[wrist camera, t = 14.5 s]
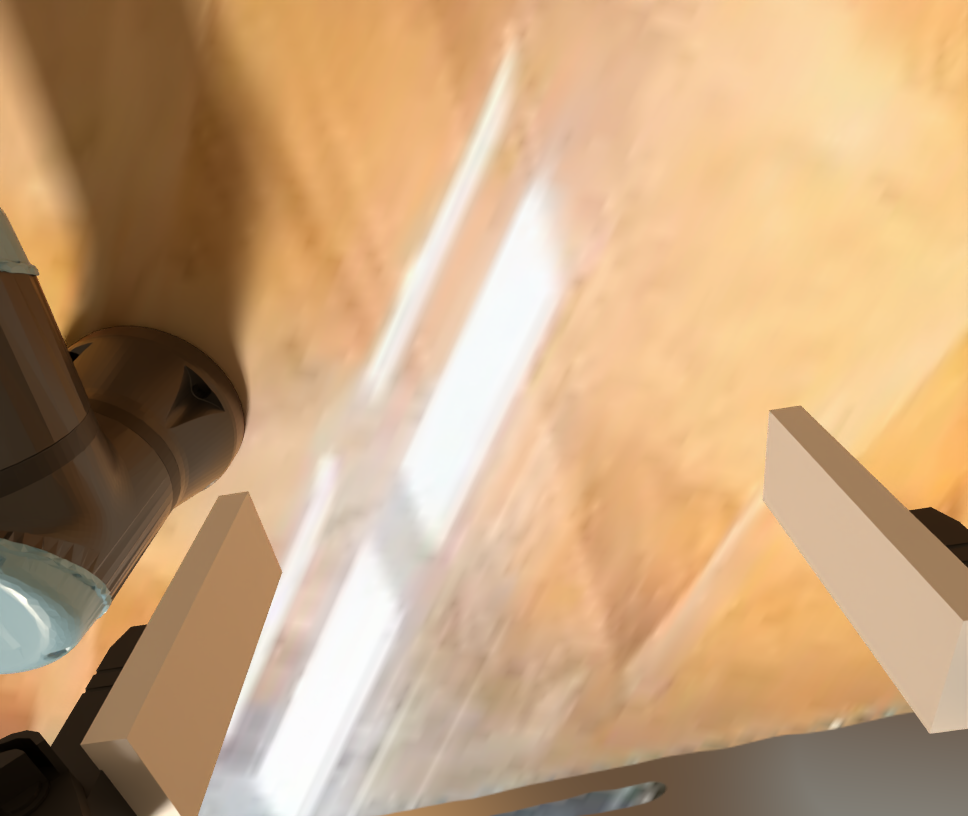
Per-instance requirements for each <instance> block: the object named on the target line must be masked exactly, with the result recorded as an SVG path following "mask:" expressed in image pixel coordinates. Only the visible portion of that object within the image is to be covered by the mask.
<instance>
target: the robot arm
mask: <svg viewBox="0 0 968 816" xmlns="http://www.w3.org/2000/svg"><path fill="white" fill-rule="evenodd" d="M38 275H40V274H39V272H38V269H37V268H36V267H35V266H34V265H32V264H30V262H29V260H28V258H27V256H26V254H25V252H24V250H23V248H22V246H21V244H20V242H19V240H18V238H17V236H16V234H15V232H14V230H13V228H12V226H11V224H10V222H9V220H8V218H7V216H6V214H5V213H4V211H3V210H2V209H1V208H0V674H11V673H19V672H25V671H29V670H33V669H37V668H40V667H43V666H45V665H48V664H50V663H52V662H54V661H56V660H58V659H59V658H61V657H63V656H64V655H66V654H67V653H68V652H69V651H70V650H72V649H73V648H74V647H75V646H76V645H77V644H78V642H79V641H80V640H81V639H82V637H83V636H84V635H85V633H86V632H87V631H88V630H89V628H90V627H91V626H92V625H93V623H94V622H95V621H96V620H97V619H98V618H100V617H101V616H102V615H103V614H104V613H105V612H106V611H107V610H108V609H109V607H110V605H111V602H112V600H113V599H114V597H115V596H116V594H117V593H118V591H119V590H120V588H121V587H122V585H123V584H124V582H125V581H126V579H127V578H128V576H129V575H130V573H131V572H132V570H133V569H134V567H135V566H136V564H137V563H138V561H139V560H140V558H141V556H142V555H143V553H144V552H145V550H146V549H147V547H148V546H149V544H150V543H151V541H152V540H153V538H154V537H155V535H156V534H157V532H158V531H159V529H160V528H161V526H162V525H163V523H164V522H165V520H166V518H167V517H168V515H169V514H170V513H171V511H172V510H173V509H174V508H175V507H177V506H178V505H180V504H182V503H183V502H185V501H186V500H188V499H189V498H191V497H192V496H194V495H195V494H197V493H198V492H200V491H202V490H204V489H206V488H208V487H209V486H211V485H212V484H213V483H215V482H216V481H217V480H218V479H219V478H220V477H221V476H222V475H223V474H224V472H225V471H226V470H227V468H228V467H229V465H230V464H231V462H232V461H233V459H234V457H235V456H236V454H237V452H238V450H239V448H240V446H241V443H242V439H243V434H244V415H243V410H242V406H241V403H240V400H239V397H238V395H237V393H236V391H235V389H234V387H233V385H232V384H231V382H230V381H229V379H228V378H227V376H226V375H225V374H224V372H223V371H222V370H221V369H220V368H219V367H218V366H217V365H216V364H215V363H214V362H213V361H212V360H211V359H210V358H209V357H208V356H206V355H205V354H204V353H203V352H201V351H200V350H199V349H197V348H196V347H194V346H193V345H191V344H189V343H187V342H186V341H184V340H182V339H180V338H178V337H175V336H173V335H171V334H168V333H165V332H162V331H158V330H155V329H150V328H144V327H136V326H118V327H111V328H106V329H102V330H99V331H96V332H93V333H91V334H89V335H87V336H85V337H84V338H82V339H80V340H79V341H78V342H76V343H75V344H73V345H72V346H70V347H69V348H67V347H66V344H65V342H64V340H63V337H62V335H61V333H60V330H59V328H58V326H57V323H56V321H55V319H54V316H53V314H52V311H51V309H50V307H49V304H48V302H47V300H46V297H45V295H44V293H43V290H42V288H41V286H40V283H39V281H38V279H37V276H38ZM763 501H764V502H765V504H766V505H767V507H768V508H769V509H770V511H771V512H772V514H773V515H774V516H775V518H776V519H777V521H778V522H779V523H780V525H781V526H782V528H783V529H784V530H785V532H786V533H787V535H788V536H789V537H790V539H791V540H792V542H793V543H794V544H795V546H796V547H797V549H798V550H799V551H800V553H801V554H802V556H803V557H804V558H805V560H806V561H807V563H808V564H809V565H810V567H811V568H812V570H813V571H814V572H815V574H816V575H817V577H818V578H819V579H820V581H821V582H822V584H823V585H824V586H825V588H826V589H827V591H828V592H829V593H830V595H831V596H832V598H833V599H834V600H835V602H836V603H837V605H838V606H839V607H840V609H841V610H842V612H843V613H844V614H845V616H846V617H847V619H848V620H849V621H850V623H851V624H852V625H853V627H854V628H855V630H856V631H857V632H858V634H859V635H860V637H861V638H862V639H863V641H864V642H865V644H866V645H867V646H868V648H869V649H870V651H871V652H872V653H873V655H874V656H875V658H876V659H877V660H878V662H879V663H880V665H881V666H882V667H883V669H884V670H885V672H886V673H887V674H888V676H889V677H890V679H891V680H892V681H893V683H894V684H895V686H896V687H897V688H898V690H899V691H900V693H901V694H902V695H903V697H904V698H905V700H906V701H907V702H908V704H909V705H910V707H911V708H912V709H913V711H914V712H915V714H916V715H917V716H918V718H919V719H920V721H921V722H922V723H923V725H924V726H925V727H926V729H927V730H928V732H929V733H937V732H945V731H952V730H960V729H967V728H968V529H967V528H966V527H965V526H963V525H962V524H961V523H960V522H959V521H957V520H955V519H953V518H951V517H949V516H947V515H945V514H943V513H941V512H939V511H937V510H935V509H933V508H932V507H929V508H922V509H915V510H908V509H907V508H906V507H905V506H904V505H903V504H902V503H900V502H899V501H898V500H897V499H896V498H895V497H894V496H893V495H892V494H891V493H890V492H889V491H888V490H887V489H886V488H885V487H884V486H883V485H882V484H881V483H880V482H879V481H878V480H877V479H876V478H875V477H874V476H873V475H872V474H871V473H870V472H869V471H868V470H866V469H865V468H864V467H863V466H862V465H861V464H860V463H859V462H858V461H857V460H856V459H855V458H854V457H853V456H852V455H851V454H850V453H849V452H848V451H847V450H846V449H845V448H844V447H843V446H842V445H841V444H840V443H839V442H838V441H837V440H836V439H835V438H834V437H832V436H831V435H830V434H829V433H828V432H827V431H826V430H825V429H824V428H823V427H822V426H821V425H820V424H819V423H818V422H817V421H816V420H815V419H814V418H813V417H812V416H811V415H810V414H809V413H808V412H807V411H806V410H805V409H804V408H803V407H802V406H795V407H788V408H782V409H775V410H769V419H768V433H767V447H766V461H765V475H764V489H763ZM281 574H282V570H281V568H280V566H279V563H278V561H277V559H276V556H275V554H274V551H273V549H272V547H271V544H270V542H269V540H268V537H267V535H266V532H265V530H264V528H263V525H262V523H261V520H260V518H259V516H258V513H257V511H256V509H255V506H254V504H253V501H252V499H251V497H250V494H249V492H242V493H235V494H229V495H222V496H219V497H218V499H217V500H216V502H215V504H214V506H213V508H212V509H211V511H210V513H209V515H208V517H207V518H206V520H205V522H204V524H203V526H202V527H201V529H200V531H199V533H198V535H197V536H196V538H195V540H194V542H193V544H192V545H191V547H190V549H189V551H188V552H187V554H186V556H185V558H184V560H183V561H182V563H181V565H180V567H179V569H178V570H177V572H176V574H175V576H174V578H173V579H172V581H171V583H170V585H169V587H168V588H167V590H166V592H165V594H164V596H163V597H162V599H161V601H160V603H159V604H158V606H157V608H156V610H155V612H154V613H153V615H152V617H151V619H150V621H149V622H148V624H147V625H140V626H133V627H130V628H129V629H128V630H127V631H126V632H125V633H124V634H123V635H122V636H121V637H120V638H119V639H118V640H117V641H116V642H115V643H114V644H113V645H112V646H111V647H110V649H109V650H108V652H107V654H106V655H105V657H104V659H103V660H102V662H101V664H100V665H99V667H98V669H97V670H96V671H97V674H96V675H93V677H92V679H91V680H90V682H89V684H88V685H87V687H86V692H85V693H84V694H82V695H81V697H80V699H79V700H78V702H77V704H76V705H75V707H74V709H73V710H72V712H71V714H70V715H69V717H68V719H67V720H66V722H65V724H64V725H63V727H62V729H61V730H60V732H59V734H58V735H57V737H56V739H55V740H54V742H53V744H52V745H51V747H50V745H49V744H48V743H47V742H46V741H45V739H44V738H43V737H42V736H41V734H40V733H39V732H34V731H28V730H26V731H22V732H18V733H13V734H10V735H8V736H6V737H4V738H2V739H0V816H198V813H199V810H200V807H201V804H202V802H203V799H204V796H205V793H206V790H207V787H208V784H209V781H210V778H211V776H212V773H213V770H214V767H215V764H216V761H217V758H218V755H219V753H220V750H221V747H222V744H223V741H224V738H225V735H226V732H227V729H228V727H229V724H230V721H231V718H232V715H233V712H234V709H235V706H236V704H237V701H238V698H239V695H240V692H241V689H242V686H243V683H244V680H245V678H246V675H247V672H248V669H249V666H250V663H251V660H252V657H253V655H254V652H255V649H256V646H257V643H258V640H259V637H260V634H261V631H262V629H263V626H264V623H265V620H266V617H267V614H268V611H269V608H270V606H271V603H272V600H273V597H274V594H275V591H276V588H277V585H278V582H279V580H280V577H281Z"/></svg>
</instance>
